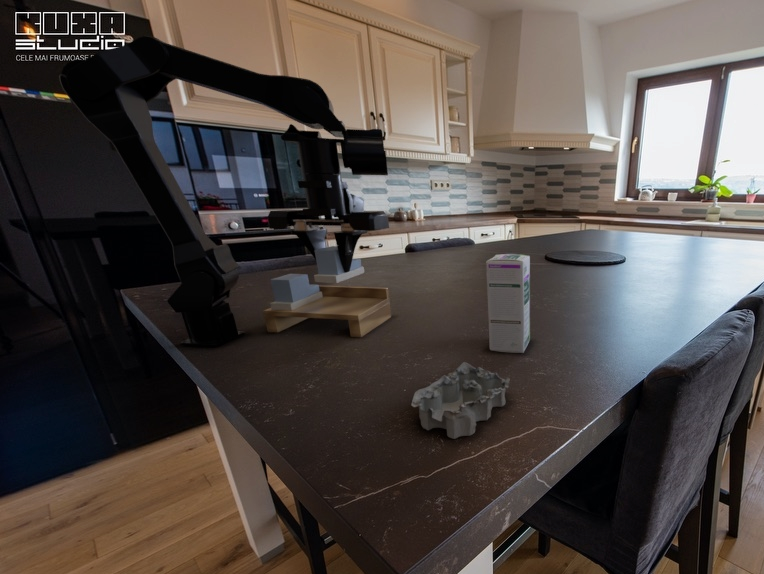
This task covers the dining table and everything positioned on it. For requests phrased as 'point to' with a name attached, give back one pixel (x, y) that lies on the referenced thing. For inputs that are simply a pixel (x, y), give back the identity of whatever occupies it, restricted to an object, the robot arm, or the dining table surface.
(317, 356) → the dining table surface
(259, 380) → the dining table surface
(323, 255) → the trainer
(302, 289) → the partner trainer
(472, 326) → the dining table surface
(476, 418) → the egg carton
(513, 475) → the dining table surface
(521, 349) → the syrup box
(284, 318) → the shoe shelf
